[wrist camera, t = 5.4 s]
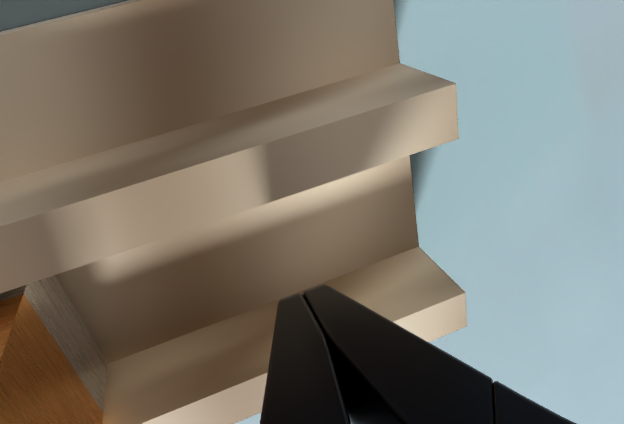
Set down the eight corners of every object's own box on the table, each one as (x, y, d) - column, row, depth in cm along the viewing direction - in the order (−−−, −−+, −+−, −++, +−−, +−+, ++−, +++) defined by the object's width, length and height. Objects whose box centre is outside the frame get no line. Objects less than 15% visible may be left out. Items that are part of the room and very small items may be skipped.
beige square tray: (364, -57, 9) (449, -68, 7) (411, 315, 14) (469, 389, 12) (-173, 73, 8) (-326, 126, 5) (93, 443, 13) (82, 562, 10)
